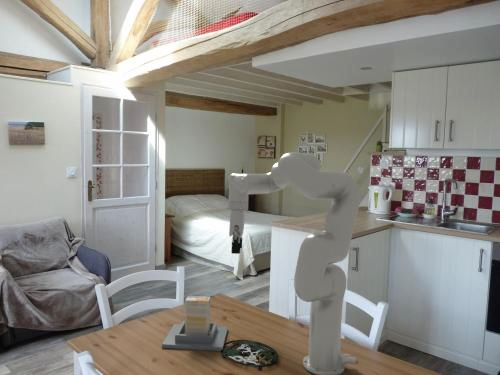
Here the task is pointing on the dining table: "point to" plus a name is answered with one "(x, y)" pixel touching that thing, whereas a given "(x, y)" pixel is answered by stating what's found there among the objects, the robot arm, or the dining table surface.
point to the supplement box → (197, 315)
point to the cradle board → (196, 338)
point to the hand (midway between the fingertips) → (236, 250)
